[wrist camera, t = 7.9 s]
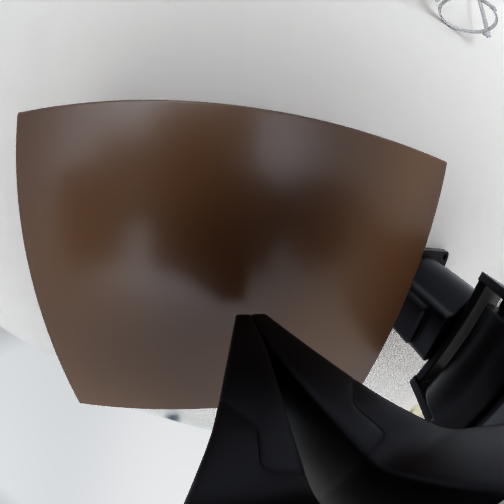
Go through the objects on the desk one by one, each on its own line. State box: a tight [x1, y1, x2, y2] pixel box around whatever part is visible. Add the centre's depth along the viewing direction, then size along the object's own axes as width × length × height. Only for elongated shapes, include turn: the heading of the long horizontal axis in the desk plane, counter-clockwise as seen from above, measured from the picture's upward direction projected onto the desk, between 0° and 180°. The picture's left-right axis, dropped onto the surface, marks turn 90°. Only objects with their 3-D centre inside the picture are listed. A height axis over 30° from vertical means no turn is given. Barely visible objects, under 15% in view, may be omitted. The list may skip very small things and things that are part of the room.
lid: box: [16, 100, 447, 409], centre depth 9 cm, size 14×12×1 cm
